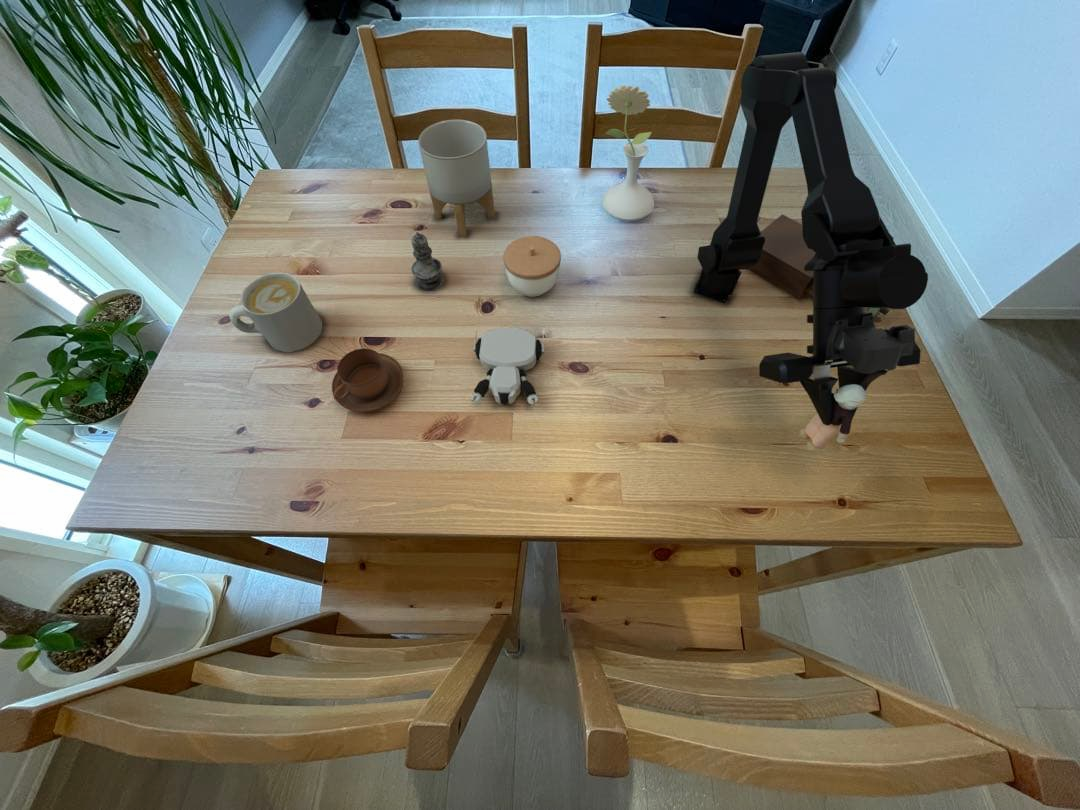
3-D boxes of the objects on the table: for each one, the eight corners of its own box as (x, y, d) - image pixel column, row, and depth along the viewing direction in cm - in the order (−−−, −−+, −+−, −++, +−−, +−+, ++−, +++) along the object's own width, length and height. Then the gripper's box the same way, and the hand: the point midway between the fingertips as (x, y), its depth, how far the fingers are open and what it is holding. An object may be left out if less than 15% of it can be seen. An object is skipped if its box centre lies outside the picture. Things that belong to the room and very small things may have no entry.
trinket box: (530, 314, 97) (528, 277, 89) (494, 284, 101) (490, 246, 93) (571, 286, 100) (573, 249, 92) (535, 258, 105) (534, 220, 97)
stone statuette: (410, 287, 101) (394, 238, 91) (424, 267, 104) (410, 218, 94) (436, 295, 100) (423, 246, 90) (450, 275, 103) (439, 225, 93)
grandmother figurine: (839, 453, 74) (892, 407, 63) (818, 463, 73) (868, 418, 62) (803, 411, 77) (848, 361, 66) (783, 420, 76) (825, 371, 65)
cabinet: (830, 269, 102) (844, 247, 97) (798, 299, 98) (811, 277, 93) (772, 236, 107) (782, 214, 103) (739, 263, 103) (748, 241, 98)
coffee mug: (325, 309, 98) (304, 270, 90) (318, 349, 93) (295, 312, 85) (255, 314, 98) (227, 275, 89) (243, 355, 93) (213, 318, 84)
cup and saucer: (384, 425, 84) (373, 405, 79) (322, 404, 87) (307, 384, 81) (418, 370, 90) (409, 348, 85) (359, 352, 93) (347, 329, 87)
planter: (493, 236, 109) (483, 157, 94) (432, 236, 109) (413, 158, 94) (496, 198, 116) (488, 119, 100) (439, 198, 116) (423, 119, 101)
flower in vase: (661, 203, 114) (687, 83, 92) (638, 232, 109) (659, 113, 87) (609, 184, 118) (622, 65, 96) (585, 212, 112) (593, 93, 91)
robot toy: (541, 413, 86) (544, 339, 93) (541, 400, 82) (544, 324, 89) (469, 411, 87) (478, 338, 94) (465, 398, 83) (474, 323, 89)
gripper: (807, 319, 56) (807, 452, 60) (964, 297, 58) (954, 429, 61) (755, 314, 67) (758, 427, 71) (889, 296, 69) (884, 407, 72)
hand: (836, 423), depth 69 cm, fingers closed on grandmother figurine, 3 cm apart
